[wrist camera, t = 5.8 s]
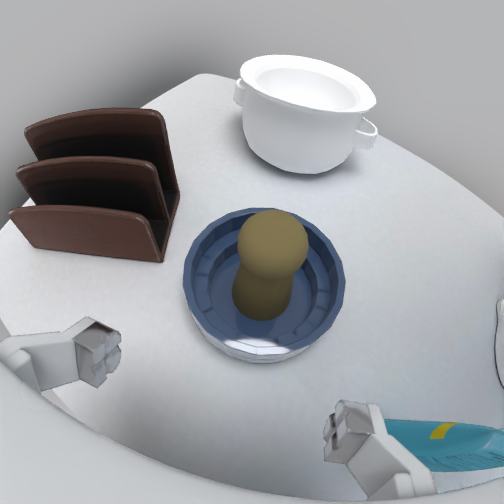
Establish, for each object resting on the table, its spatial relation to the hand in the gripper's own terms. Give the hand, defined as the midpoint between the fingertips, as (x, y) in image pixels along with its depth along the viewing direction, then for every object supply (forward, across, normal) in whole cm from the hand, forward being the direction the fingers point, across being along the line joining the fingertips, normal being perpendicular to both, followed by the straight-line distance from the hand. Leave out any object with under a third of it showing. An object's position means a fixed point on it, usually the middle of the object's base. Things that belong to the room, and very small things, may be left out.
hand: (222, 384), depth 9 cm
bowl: (+20, 0, +4) cm, 20 cm away
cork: (+20, 0, +4) cm, 20 cm away
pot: (+37, +1, -13) cm, 40 cm away
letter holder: (+22, +22, +3) cm, 31 cm away
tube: (+11, -15, +13) cm, 23 cm away
